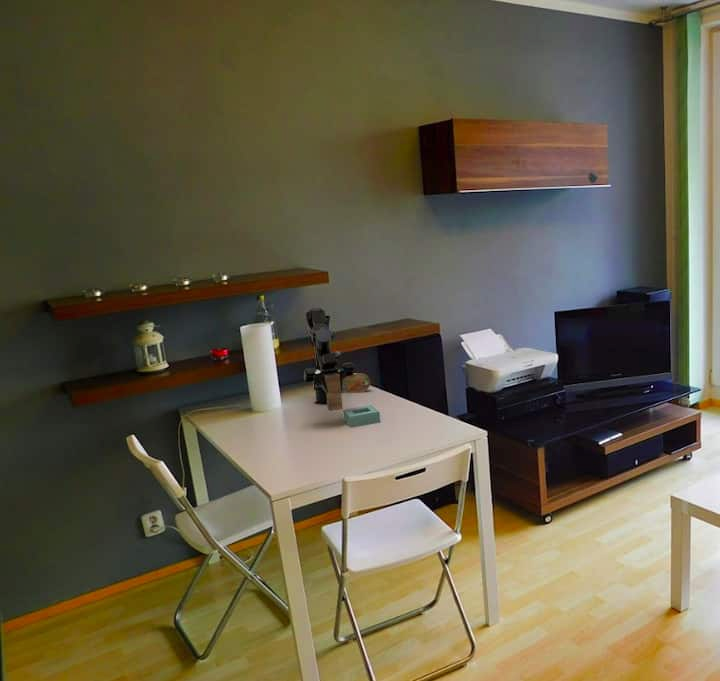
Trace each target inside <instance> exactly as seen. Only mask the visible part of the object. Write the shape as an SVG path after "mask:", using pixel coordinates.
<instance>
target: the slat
mask: <svg viewBox="0 0 720 681" xmlns="http://www.w3.org/2000/svg"><path fill="white" fill-rule="evenodd" d="M325 384H326V387H327V391H328V393H326V396H327V404H326V406H327V410H328V412H333V411H340V410H344V409H343V408H344V407H343V399H342V391H341V385H340V375H339V374H338V373H337V374H330V375H325Z"/></svg>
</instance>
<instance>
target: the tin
mask: <svg viewBox="0 0 720 681" xmlns="http://www.w3.org/2000/svg"><path fill="white" fill-rule="evenodd" d="M370 386H371V379H370V378H369V376H368V375H367V374H365V373H364V372H363V373H362V372H360V373H357V372H356V373H355V372H354V373H353V375H352V376H347V377H346V378H345V379H343V383H342V391H341V393H345V394H346V393H347V394H349V393H350V394H351V393H352V394H353V393H364V392H366V391H367V390H368V389H369V388H370Z"/></svg>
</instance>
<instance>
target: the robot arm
mask: <svg viewBox="0 0 720 681" xmlns="http://www.w3.org/2000/svg"><path fill="white" fill-rule="evenodd" d="M326 317H327V316H326V311H325V310H323V308H321V307H315V308H309V310H308V311H307V312H305V324H307V328H308V329H309V331H310V336H311V337H310V338H311V342H313V346H314V356H315V363H316V366H315V367H311V368H310V367H309V368H305V369H304V370H303V380H304V382H305V383H311V382H312V386H313V390H314V391H315V398H316V401H314V404H322V405H327V396H326V393H328V391H327V387H326V384H325V375H330V374H337V373H338V374H339V375H340V385H341V392H342V383H343V379H345V378H346V377H347V376H352V375H353V374H354V373H355V368H356V367H355V364H354V362H345V363H342V366H341V367H337V366H338V361H341V359H342V353H341V350H336V351H334V352H332V349H331V346H332V340H333V339H334V337H335V336H334V334H333V332H332V331H331V330H330V329H329V325H326V324H325V322H326V321H327V318H326Z"/></svg>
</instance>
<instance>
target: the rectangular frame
mask: <svg viewBox="0 0 720 681" xmlns="http://www.w3.org/2000/svg"><path fill="white" fill-rule="evenodd" d="M342 412H343V414H342V415H343V420H344V422H346V424H347V425H348V426H349V427H350V428H353V427H359V426H364V425H365V426H366V425H369V424H370V425H371V423H372V424H377V423H380V422H381V414H380V411H379V410H378V409H377V407H375V406H374V405H372V404H371V405H365V406H359V407H353V408H347V409H342Z"/></svg>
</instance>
